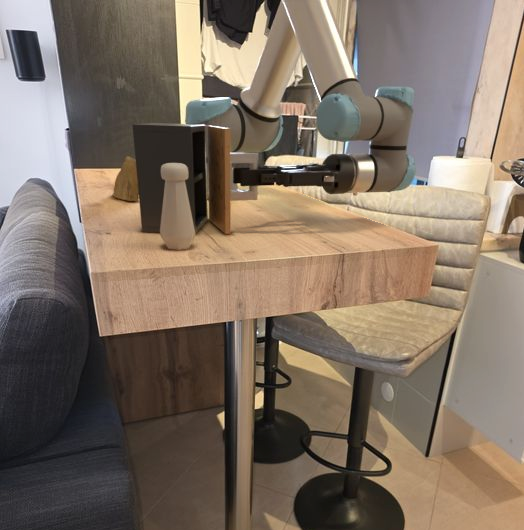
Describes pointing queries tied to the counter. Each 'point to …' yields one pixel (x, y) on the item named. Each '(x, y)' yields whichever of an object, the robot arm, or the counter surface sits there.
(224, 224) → the door
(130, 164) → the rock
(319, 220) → the counter surface
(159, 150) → the dark grey cabinet
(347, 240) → the counter surface
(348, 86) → the robot arm
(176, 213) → the salt shaker
